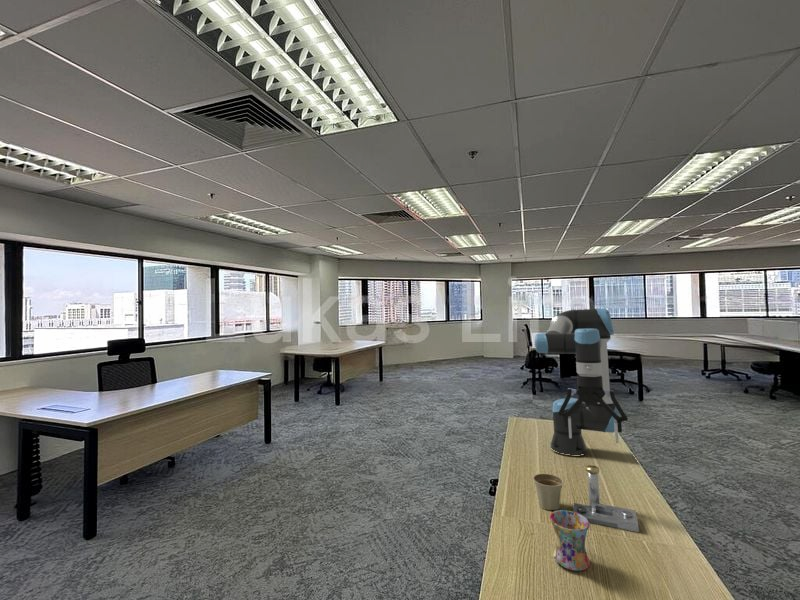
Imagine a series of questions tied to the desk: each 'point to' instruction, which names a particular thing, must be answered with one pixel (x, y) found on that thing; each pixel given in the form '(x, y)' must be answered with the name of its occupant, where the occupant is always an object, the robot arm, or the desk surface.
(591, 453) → the desk surface
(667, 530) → the desk surface
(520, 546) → the desk surface
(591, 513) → the grey slotted base plate
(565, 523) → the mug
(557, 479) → the flower pot
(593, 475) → the pin
